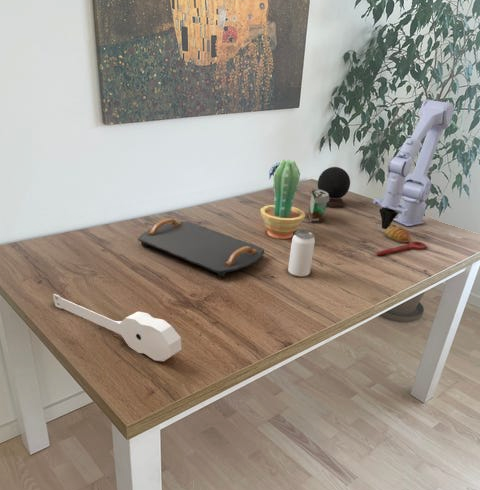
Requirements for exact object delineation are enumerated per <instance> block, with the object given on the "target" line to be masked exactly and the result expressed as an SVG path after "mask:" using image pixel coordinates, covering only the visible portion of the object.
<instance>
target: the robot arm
mask: <svg viewBox="0 0 480 490" xmlns="http://www.w3.org/2000/svg"><path fill="white" fill-rule="evenodd" d="M454 112H455V106H454V103H453V102H446V101H439V100H432V99H429V98H427V99H425V100H424V101H423V102H422V104H421V105H420V110H419V120H418V122H417V124H416V126H415V128H414V131H413V132H412V135H411V137H408V138H406V139H405V141H404V142H403V144H402V146H401V147H400V149H399V150H398V152H397V154H396V155H395V156H392V157H391V158H390V159H389V162H388V164H387V174H386V177H387V182H386V187H385V191H384V195H383V199H382V198H379V197H374V198H373V201H372V204H373V205H378V206H380V207H381V208H379V210H378V211H379V214H380V218H381V219H380V220H381V229H383V230H386V229H387V228H388V227H389V226H391V225H392V222H393V221H394V222H397V223H399V224H401V225H403V226H405V227H413V226H417V225H422V224H424V221H423V220H424V216H425V213H426V208H427V203H426V201H427V200H428V198H429V196H430V193H431V187H432V184H433V183H432V181H431V179H430V178H429V177H428V173H429V170H430V167H431V164H432V162H433V158H434V157H435V153H436V151H437V148H438V145H439V142H440V140H441V137H442V134H443V132H444V130H446V129H448V128H449V126H450V124H451V121H452V118H453V116H454ZM422 140H424V141H423V144H421V142H422ZM419 151H420V152H419ZM418 153H419V155H418V158H417V160H416V164H415V167H414V169H413V172H412V173H411V171H412V168H413V165H414V163H415V161H414V159H415V158H416V156H417V154H418ZM414 181H415V182H414ZM401 199H402V200H401ZM400 203H401V204H400Z"/></svg>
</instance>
